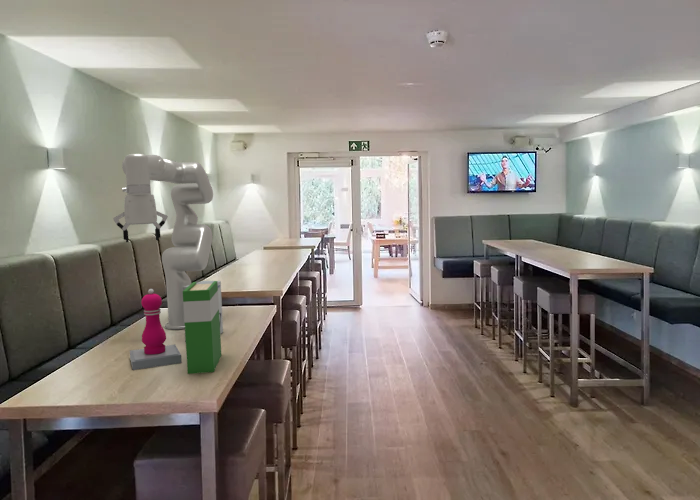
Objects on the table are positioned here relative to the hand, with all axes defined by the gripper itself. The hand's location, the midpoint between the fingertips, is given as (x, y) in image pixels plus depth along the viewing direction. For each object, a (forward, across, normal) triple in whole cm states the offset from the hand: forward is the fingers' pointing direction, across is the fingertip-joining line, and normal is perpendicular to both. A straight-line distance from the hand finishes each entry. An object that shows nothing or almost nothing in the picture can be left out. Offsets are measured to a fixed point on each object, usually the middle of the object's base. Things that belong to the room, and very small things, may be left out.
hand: (142, 241), depth 186 cm
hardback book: (+37, +13, -33) cm, 51 cm away
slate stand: (+36, 0, -21) cm, 42 cm away
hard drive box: (+37, +19, 0) cm, 41 cm away
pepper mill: (+34, 0, -21) cm, 40 cm away
